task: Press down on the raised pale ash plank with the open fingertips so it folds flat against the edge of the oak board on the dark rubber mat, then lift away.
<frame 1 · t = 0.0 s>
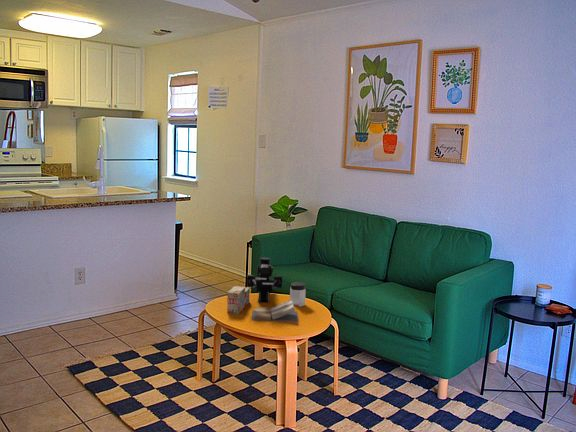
hand: (264, 285, 284), 17 cm above the table, tool horizontal, fingers open, 9 cm apart
underlay mat: (275, 317, 285), on the table
oak board: (262, 315, 285), resting on underlay mat
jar: (297, 304, 309), on the table
ash plank: (282, 309, 285), point 5 cm above the table, hinge at 25.0°
stack of blocks: (238, 309, 297), on the table
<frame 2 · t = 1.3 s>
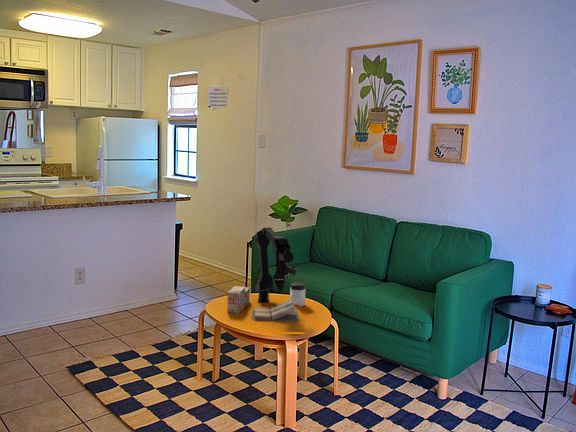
hand: (281, 291, 288), 13 cm above the table, tool pointing down, fingers open, 9 cm apart
nothing on the table moved.
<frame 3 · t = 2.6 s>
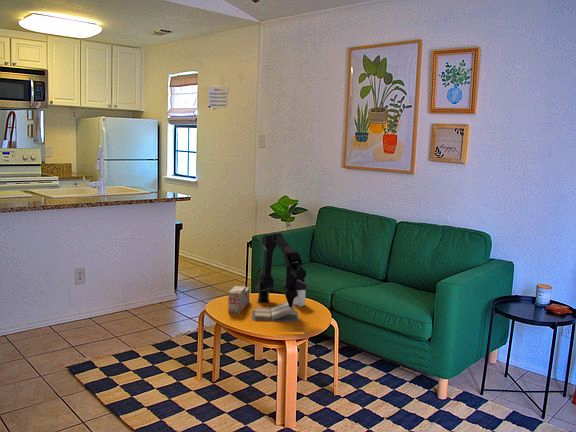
hand: (290, 304, 285), 7 cm above the table, tool pointing down
ash plank: (282, 309, 285), point 4 cm above the table, hinge at 23.6°, touching gripper
everything else where it was.
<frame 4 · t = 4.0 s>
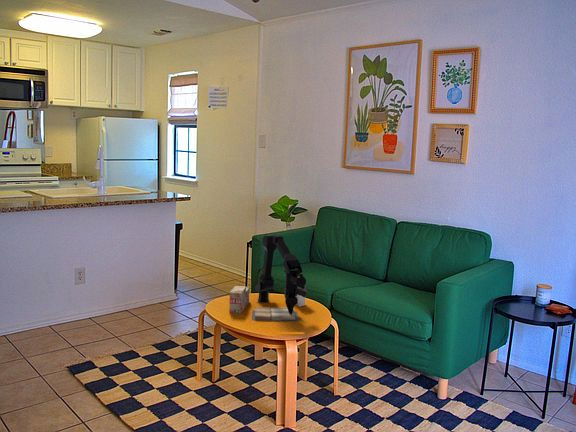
hand: (290, 311, 285), 3 cm above the table, tool pointing down
ash plank: (282, 313, 285), point 2 cm above the table, hinge at 2.7°, touching gripper
everything else where it was.
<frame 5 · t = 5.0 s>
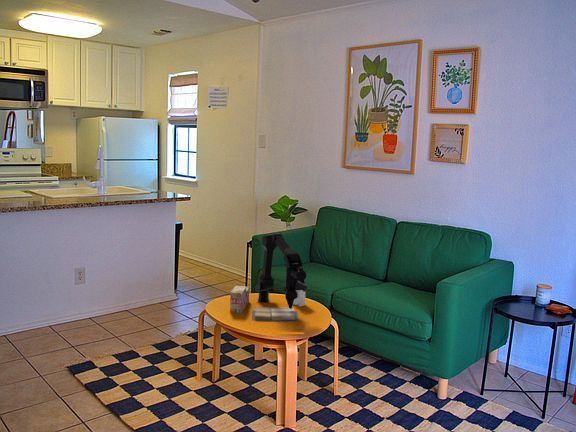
hand: (290, 305, 285), 7 cm above the table, tool pointing down, fingers open, 9 cm apart
ash plank: (282, 313, 285), point 2 cm above the table, hinge at 2.6°
everything else where it was.
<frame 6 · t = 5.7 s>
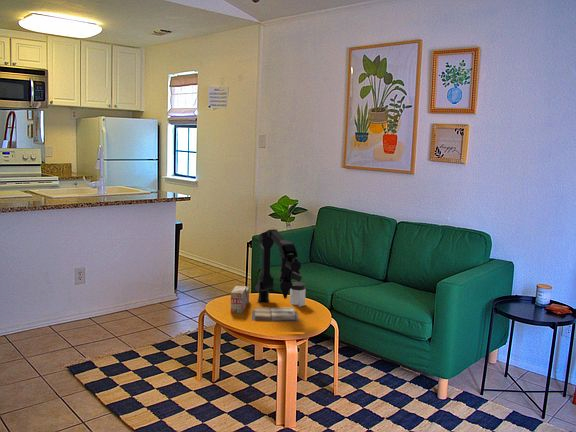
hand: (284, 295, 288), 11 cm above the table, tool pointing down, fingers open, 9 cm apart
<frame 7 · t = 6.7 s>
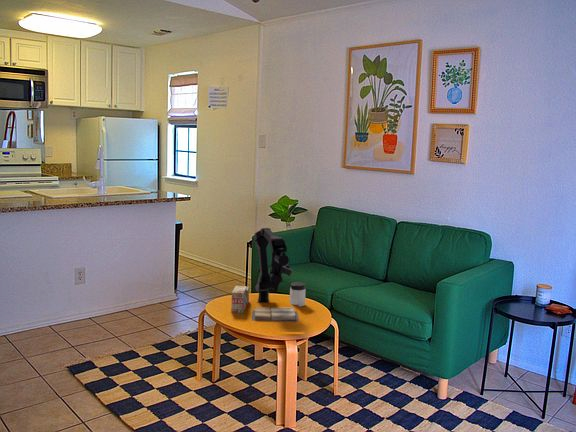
hand: (275, 289, 293), 12 cm above the table, tool pointing down, fingers open, 9 cm apart
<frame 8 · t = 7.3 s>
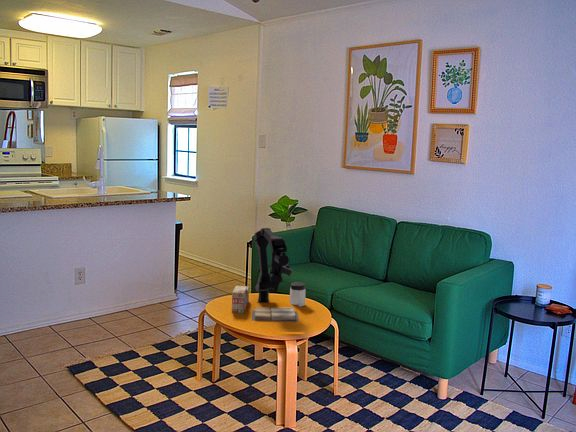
hand: (275, 289, 293), 12 cm above the table, tool pointing down, fingers open, 9 cm apart
at the end: ash plank at +3° (first picture: +25°); the gripper is holding nothing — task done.
